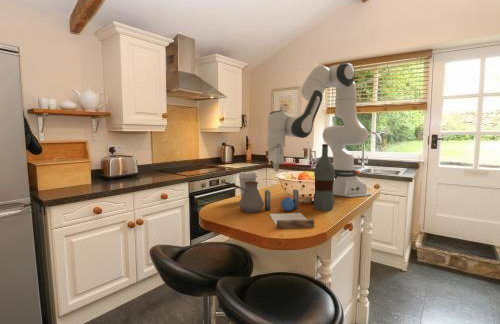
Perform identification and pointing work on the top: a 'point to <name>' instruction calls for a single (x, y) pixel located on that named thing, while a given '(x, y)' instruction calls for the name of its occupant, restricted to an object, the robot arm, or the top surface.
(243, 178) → the coffee cup
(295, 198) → the right post
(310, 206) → the top surface
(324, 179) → the bottle
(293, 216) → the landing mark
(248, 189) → the coffee pot
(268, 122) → the robot arm
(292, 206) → the ball
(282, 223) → the wall
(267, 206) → the left post
